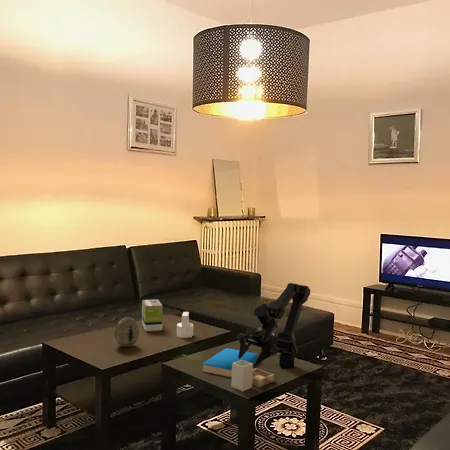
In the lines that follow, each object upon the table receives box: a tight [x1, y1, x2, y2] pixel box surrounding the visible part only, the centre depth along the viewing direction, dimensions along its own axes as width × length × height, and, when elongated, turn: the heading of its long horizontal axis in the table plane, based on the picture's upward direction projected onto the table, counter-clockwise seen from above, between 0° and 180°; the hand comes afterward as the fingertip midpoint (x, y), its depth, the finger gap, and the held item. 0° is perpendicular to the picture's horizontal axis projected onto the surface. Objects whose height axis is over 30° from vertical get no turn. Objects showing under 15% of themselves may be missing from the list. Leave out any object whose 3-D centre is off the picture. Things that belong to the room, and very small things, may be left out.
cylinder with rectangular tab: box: [176, 311, 194, 339], centre depth 268 cm, size 9×9×12 cm
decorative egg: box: [114, 316, 140, 348], centre depth 246 cm, size 12×12×15 cm
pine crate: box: [252, 367, 275, 388], centre depth 208 cm, size 10×10×3 cm
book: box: [201, 347, 259, 378], centre depth 225 cm, size 17×4×25 cm
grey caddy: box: [230, 360, 254, 392], centre depth 200 cm, size 6×6×10 cm
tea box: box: [141, 299, 164, 332], centre depth 282 cm, size 15×10×15 cm
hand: (247, 361), depth 202 cm, fingers open, 9 cm apart
